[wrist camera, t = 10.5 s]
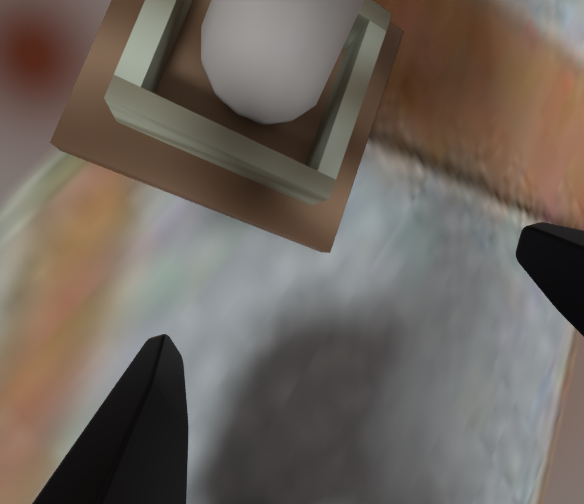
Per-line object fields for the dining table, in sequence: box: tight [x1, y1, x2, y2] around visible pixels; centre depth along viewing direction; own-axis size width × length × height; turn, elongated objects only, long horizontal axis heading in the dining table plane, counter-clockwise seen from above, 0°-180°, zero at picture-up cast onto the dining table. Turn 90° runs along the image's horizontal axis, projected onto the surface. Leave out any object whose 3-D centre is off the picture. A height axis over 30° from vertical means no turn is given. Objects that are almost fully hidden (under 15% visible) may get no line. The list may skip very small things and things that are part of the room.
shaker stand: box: [50, 0, 404, 253], centre depth 16 cm, size 14×14×4 cm
